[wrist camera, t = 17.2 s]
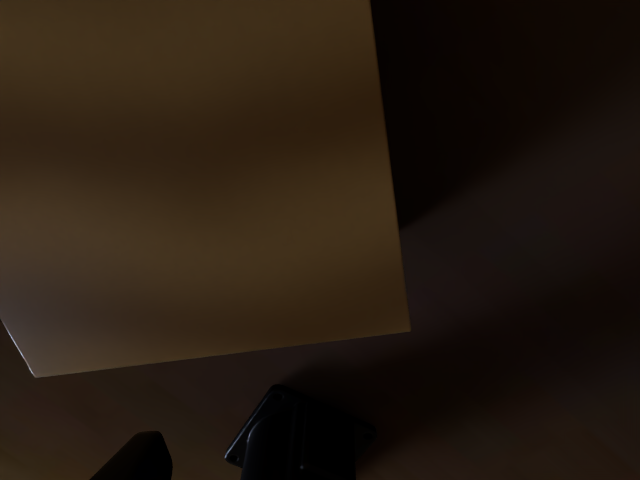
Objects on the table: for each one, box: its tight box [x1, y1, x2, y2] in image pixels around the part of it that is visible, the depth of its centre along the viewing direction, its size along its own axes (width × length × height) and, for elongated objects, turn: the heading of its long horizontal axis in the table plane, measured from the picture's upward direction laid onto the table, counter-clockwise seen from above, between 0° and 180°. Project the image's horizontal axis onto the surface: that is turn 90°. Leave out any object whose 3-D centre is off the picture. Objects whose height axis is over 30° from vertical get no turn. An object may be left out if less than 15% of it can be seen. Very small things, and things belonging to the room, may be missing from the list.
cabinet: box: [0, 0, 411, 378], centre depth 16 cm, size 15×13×7 cm
